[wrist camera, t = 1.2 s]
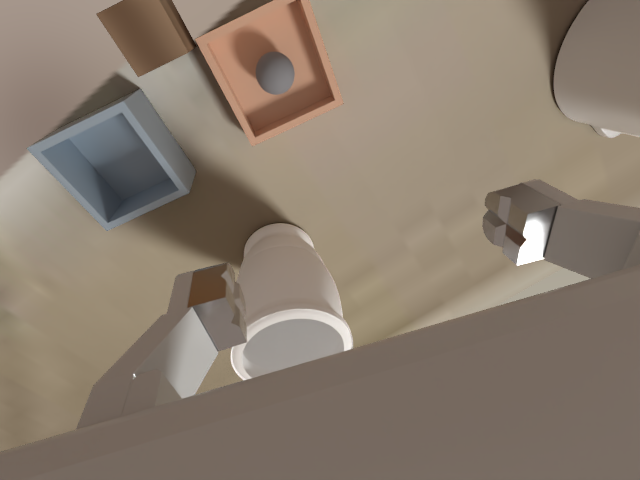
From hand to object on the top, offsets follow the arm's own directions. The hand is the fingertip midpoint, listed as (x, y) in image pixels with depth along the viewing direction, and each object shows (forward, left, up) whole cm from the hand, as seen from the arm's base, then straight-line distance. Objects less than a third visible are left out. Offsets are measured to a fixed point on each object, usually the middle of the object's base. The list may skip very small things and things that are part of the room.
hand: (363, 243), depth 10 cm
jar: (+8, +16, -25) cm, 31 cm away
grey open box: (+15, -1, -25) cm, 29 cm away
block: (+7, -8, -25) cm, 27 cm away
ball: (0, -2, -24) cm, 24 cm away
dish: (0, -2, -25) cm, 25 cm away
